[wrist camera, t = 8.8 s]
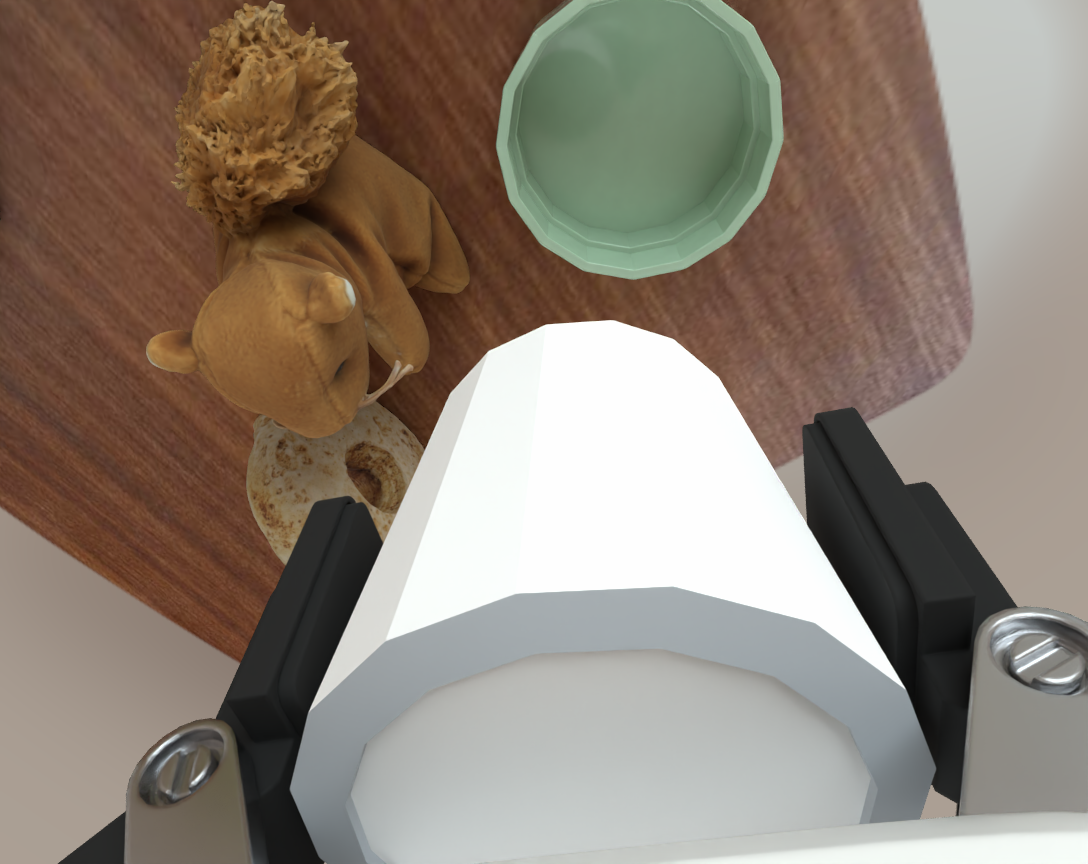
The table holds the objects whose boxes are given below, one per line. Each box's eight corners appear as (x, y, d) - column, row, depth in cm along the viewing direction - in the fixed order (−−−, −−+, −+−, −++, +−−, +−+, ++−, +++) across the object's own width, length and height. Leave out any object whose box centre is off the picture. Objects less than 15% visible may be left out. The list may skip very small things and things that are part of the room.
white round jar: (471, 620, 16) (422, 997, 10) (341, 341, 13) (156, 673, 7) (794, 558, 15) (942, 941, 9) (748, 235, 12) (940, 522, 6)
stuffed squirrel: (287, 357, 37) (168, 533, 26) (140, 40, 30) (-115, 94, 18) (485, 315, 35) (450, 481, 24) (382, -29, 28) (264, -17, 17)
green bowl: (537, 261, 34) (534, 300, 30) (477, 13, 29) (464, 22, 25) (763, 213, 33) (790, 248, 29) (743, -57, 27) (772, -58, 24)
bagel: (472, 476, 40) (449, 616, 32) (422, 510, 42) (387, 652, 33) (328, 337, 36) (257, 454, 28) (276, 379, 37) (194, 504, 29)
